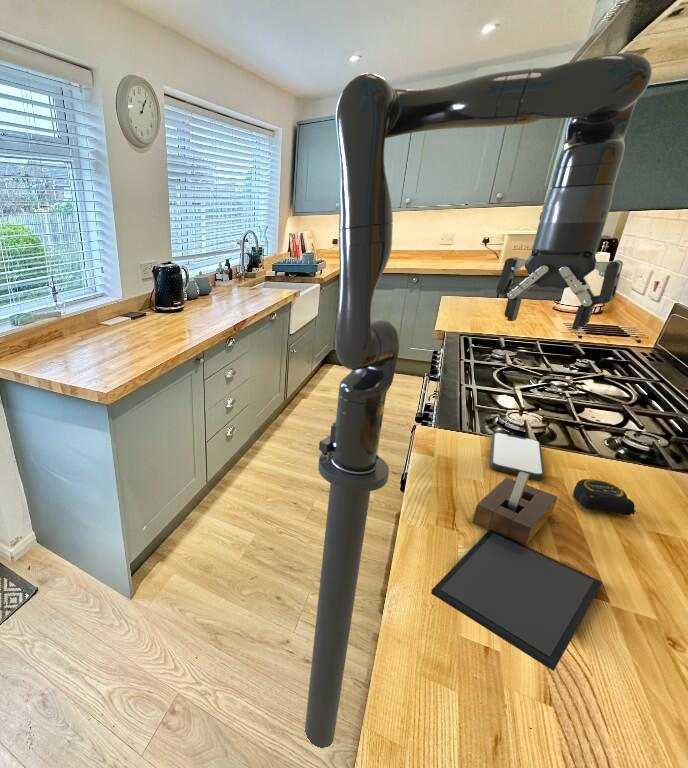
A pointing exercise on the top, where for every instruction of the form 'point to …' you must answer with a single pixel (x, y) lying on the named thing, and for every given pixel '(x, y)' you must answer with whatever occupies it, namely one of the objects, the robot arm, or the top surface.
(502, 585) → the tablet
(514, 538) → the pen stand
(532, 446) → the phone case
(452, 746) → the top surface
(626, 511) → the tape measure
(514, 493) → the grey square rod
